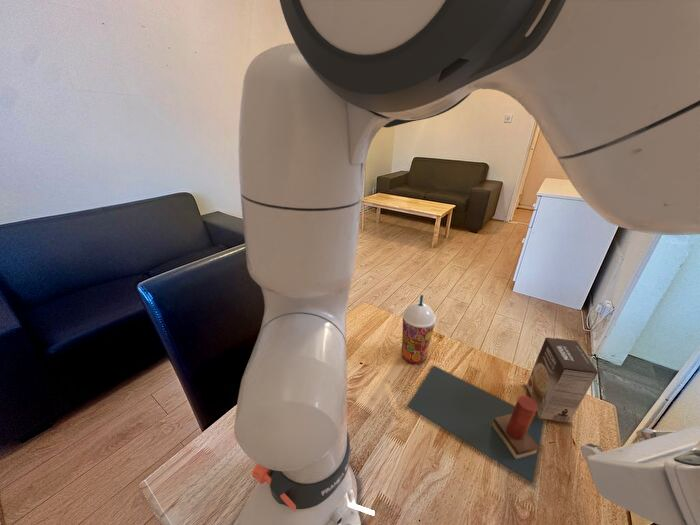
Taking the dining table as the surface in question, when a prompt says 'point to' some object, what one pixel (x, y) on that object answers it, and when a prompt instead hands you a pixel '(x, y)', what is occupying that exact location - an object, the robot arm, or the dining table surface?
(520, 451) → the red cylinder on base
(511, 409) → the mat
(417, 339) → the smoothie
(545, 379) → the coffee box
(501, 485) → the dining table surface
